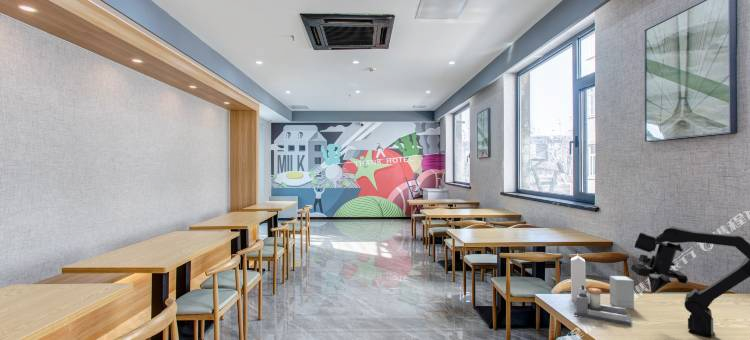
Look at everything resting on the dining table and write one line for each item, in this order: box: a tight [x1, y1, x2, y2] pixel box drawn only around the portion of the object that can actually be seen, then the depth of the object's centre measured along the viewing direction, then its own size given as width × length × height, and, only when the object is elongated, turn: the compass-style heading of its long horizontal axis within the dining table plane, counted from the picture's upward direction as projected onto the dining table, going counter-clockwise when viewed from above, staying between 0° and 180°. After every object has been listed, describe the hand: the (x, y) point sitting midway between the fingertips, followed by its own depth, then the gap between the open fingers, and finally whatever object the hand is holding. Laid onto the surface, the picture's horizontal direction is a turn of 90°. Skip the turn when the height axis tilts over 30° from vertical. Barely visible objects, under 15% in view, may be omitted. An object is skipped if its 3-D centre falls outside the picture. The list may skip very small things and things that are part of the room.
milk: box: [570, 254, 587, 302], centre depth 179 cm, size 6×6×22 cm
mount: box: [573, 291, 632, 327], centre depth 157 cm, size 20×10×8 cm, turn 57°
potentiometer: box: [579, 285, 588, 296], centre depth 161 cm, size 3×3×4 cm
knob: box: [587, 287, 602, 311], centre depth 158 cm, size 5×6×9 cm
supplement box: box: [609, 275, 635, 309], centre depth 170 cm, size 7×7×13 cm
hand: (652, 292), depth 151 cm, fingers closed
